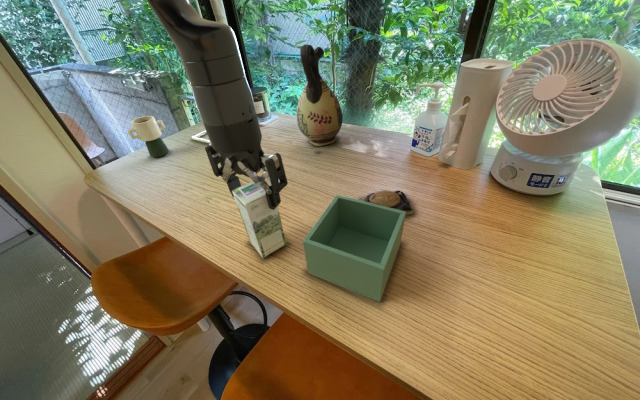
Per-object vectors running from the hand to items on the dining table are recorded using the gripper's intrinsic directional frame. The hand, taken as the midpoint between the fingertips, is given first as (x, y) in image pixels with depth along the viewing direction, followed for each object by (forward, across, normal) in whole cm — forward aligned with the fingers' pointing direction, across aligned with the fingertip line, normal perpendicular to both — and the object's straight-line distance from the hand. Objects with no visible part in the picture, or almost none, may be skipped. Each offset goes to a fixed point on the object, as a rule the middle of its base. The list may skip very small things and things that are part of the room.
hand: (256, 200), depth 46 cm
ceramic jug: (+12, -12, +47) cm, 50 cm away
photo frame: (+12, -52, +39) cm, 66 cm away
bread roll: (+12, +19, +21) cm, 31 cm away
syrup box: (+12, 0, 0) cm, 12 cm away
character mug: (+12, -63, +19) cm, 67 cm away
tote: (+12, +18, +4) cm, 22 cm away
